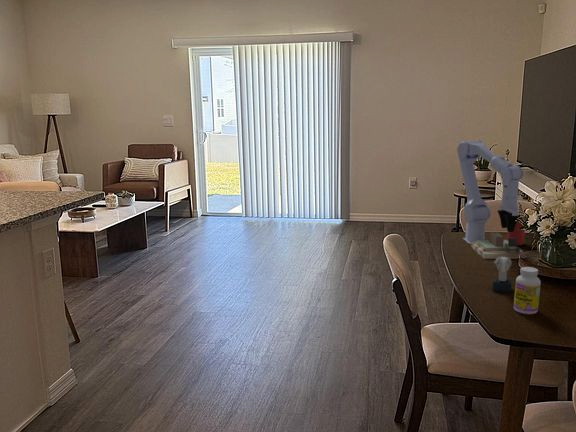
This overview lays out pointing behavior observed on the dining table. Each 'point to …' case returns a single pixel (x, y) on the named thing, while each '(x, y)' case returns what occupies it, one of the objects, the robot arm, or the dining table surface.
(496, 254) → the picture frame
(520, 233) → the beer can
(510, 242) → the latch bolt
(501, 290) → the white and black piece
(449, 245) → the dining table surface
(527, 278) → the supplement bottle
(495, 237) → the cover
